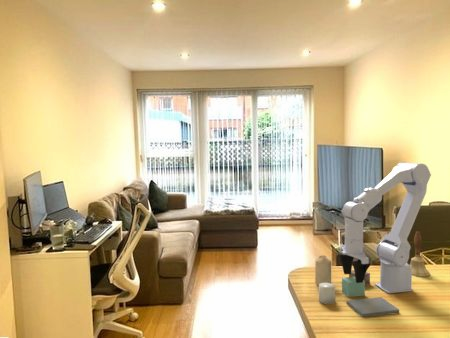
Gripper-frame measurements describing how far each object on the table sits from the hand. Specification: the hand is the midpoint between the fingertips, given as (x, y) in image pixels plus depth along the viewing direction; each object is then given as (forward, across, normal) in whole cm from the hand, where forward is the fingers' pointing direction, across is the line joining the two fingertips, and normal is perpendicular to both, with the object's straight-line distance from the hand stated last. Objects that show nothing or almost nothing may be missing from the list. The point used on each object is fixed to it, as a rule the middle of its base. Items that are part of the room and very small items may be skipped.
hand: (353, 278), depth 123 cm
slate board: (+5, +11, 0) cm, 12 cm away
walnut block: (+6, -8, +7) cm, 12 cm away
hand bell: (+5, -12, +34) cm, 36 cm away
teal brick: (+6, 0, 0) cm, 6 cm away
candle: (+6, -10, -6) cm, 13 cm away
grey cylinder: (+6, +3, -11) cm, 13 cm away
